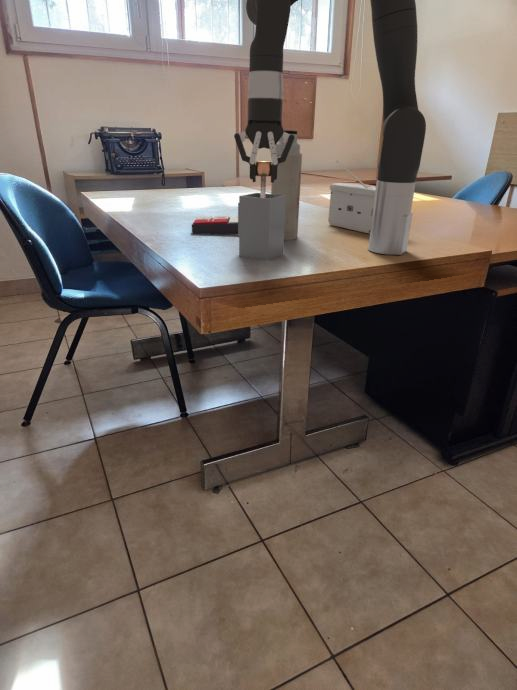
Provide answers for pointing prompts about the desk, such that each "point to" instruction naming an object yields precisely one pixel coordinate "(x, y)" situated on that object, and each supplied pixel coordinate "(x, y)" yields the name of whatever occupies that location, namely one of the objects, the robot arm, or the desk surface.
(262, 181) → the plunger
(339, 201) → the stereo radio cassette player
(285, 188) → the thermos bottle
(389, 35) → the robot arm
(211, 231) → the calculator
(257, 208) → the grey hexagonal pencil cup
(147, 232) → the desk surface
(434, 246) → the desk surface
